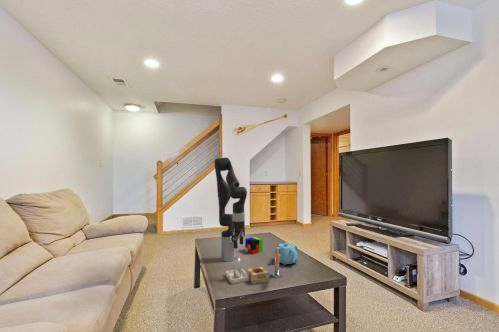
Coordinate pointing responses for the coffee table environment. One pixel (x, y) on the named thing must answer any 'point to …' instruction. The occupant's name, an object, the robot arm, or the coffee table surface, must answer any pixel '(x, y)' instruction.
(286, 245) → the decorative pot
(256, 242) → the puzzle toy
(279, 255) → the bar
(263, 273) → the block
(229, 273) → the tray
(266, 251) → the coffee table surface
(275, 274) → the pivot post
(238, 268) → the silver metal cylinder
